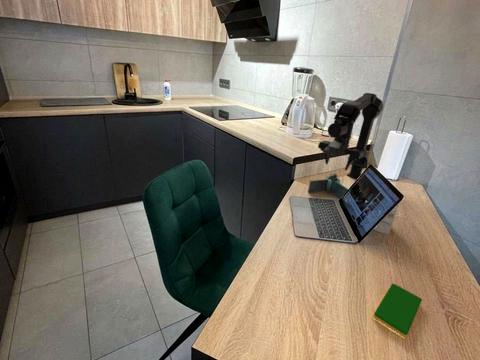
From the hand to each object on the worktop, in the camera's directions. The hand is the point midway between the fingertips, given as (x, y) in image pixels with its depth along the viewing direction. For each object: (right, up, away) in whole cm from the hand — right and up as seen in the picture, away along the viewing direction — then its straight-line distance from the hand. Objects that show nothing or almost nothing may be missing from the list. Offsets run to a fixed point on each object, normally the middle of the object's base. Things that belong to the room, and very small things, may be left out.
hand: (336, 167), depth 119 cm
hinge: (-2, -13, +1) cm, 13 cm away
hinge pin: (-1, -11, +5) cm, 12 cm away
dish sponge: (-5, -39, -54) cm, 67 cm away
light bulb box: (+7, -23, -20) cm, 32 cm away
